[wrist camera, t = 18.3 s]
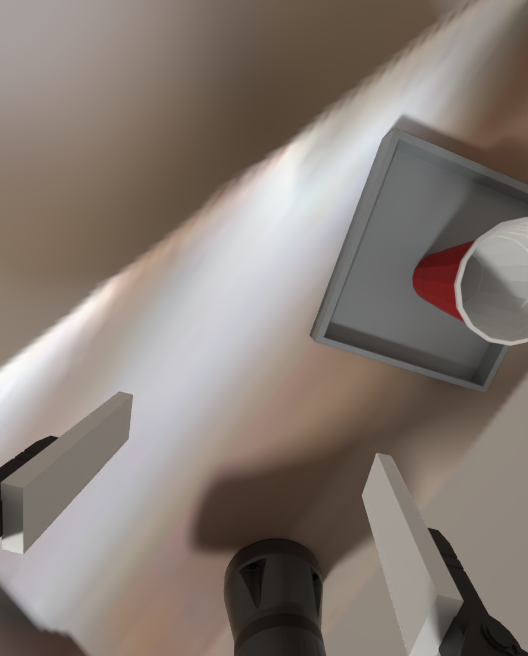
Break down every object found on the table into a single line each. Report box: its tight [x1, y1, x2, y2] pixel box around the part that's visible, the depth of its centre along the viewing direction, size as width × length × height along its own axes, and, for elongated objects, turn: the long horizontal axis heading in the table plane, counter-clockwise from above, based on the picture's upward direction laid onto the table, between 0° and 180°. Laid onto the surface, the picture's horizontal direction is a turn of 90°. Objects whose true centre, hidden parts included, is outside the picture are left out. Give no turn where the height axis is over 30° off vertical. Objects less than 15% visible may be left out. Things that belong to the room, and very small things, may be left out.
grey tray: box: [310, 128, 528, 394], centre depth 36 cm, size 24×24×3 cm
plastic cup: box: [412, 217, 528, 346], centre depth 31 cm, size 11×11×12 cm
